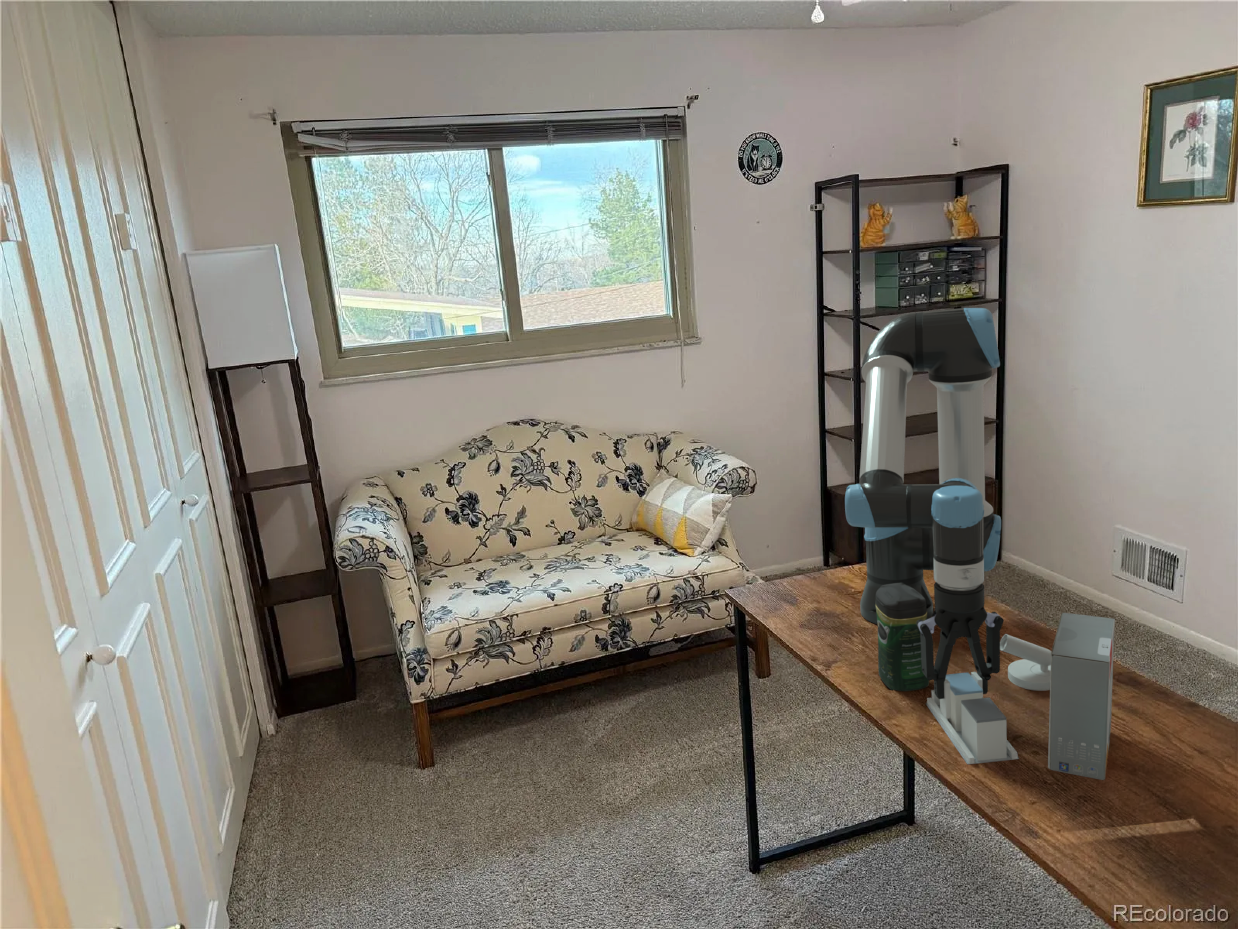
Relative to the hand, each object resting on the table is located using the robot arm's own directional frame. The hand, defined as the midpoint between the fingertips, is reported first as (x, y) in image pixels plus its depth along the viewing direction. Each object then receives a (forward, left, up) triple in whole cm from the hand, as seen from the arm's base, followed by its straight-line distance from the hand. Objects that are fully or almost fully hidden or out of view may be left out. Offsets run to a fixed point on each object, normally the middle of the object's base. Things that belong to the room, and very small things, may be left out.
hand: (961, 712), depth 141 cm
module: (0, 0, -1) cm, 1 cm away
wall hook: (-10, +16, -3) cm, 20 cm away
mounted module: (+9, 0, -1) cm, 9 cm away
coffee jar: (-15, -5, -3) cm, 16 cm away
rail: (+3, 0, -2) cm, 4 cm away
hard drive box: (+11, +14, -3) cm, 18 cm away
